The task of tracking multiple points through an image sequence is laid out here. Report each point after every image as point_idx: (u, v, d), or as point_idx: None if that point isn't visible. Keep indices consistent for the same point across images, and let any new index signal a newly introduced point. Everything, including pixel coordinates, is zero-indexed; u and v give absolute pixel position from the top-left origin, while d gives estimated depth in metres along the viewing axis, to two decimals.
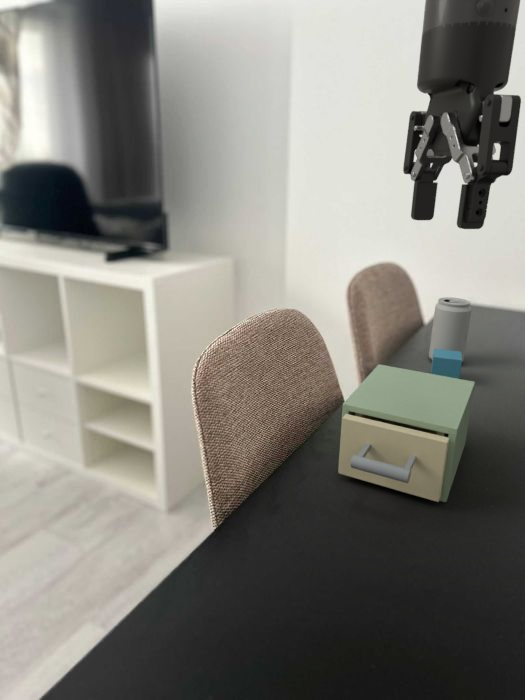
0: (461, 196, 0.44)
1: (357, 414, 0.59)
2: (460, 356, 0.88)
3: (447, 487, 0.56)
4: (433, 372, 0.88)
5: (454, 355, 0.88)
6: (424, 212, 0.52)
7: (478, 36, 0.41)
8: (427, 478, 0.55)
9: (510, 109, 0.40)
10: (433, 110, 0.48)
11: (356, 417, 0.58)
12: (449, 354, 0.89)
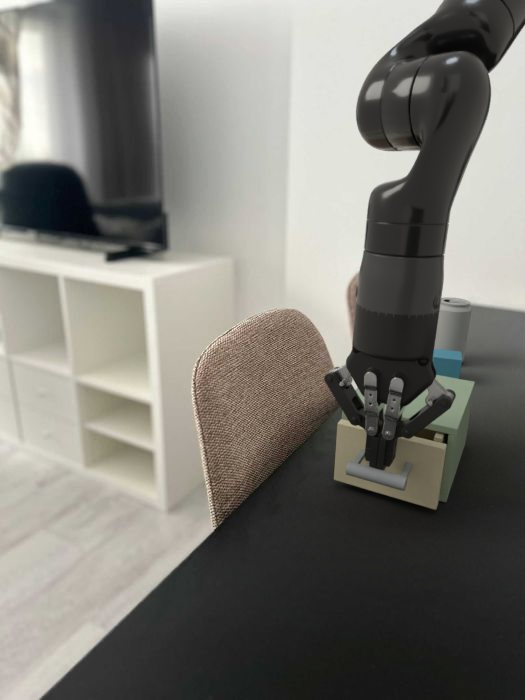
0: (378, 446, 0.51)
1: None
2: (460, 356, 0.88)
3: (447, 487, 0.56)
4: None
5: (454, 355, 0.88)
6: None
7: (432, 324, 0.45)
8: (424, 485, 0.53)
9: None
10: (358, 357, 0.49)
11: None
12: (449, 354, 0.89)
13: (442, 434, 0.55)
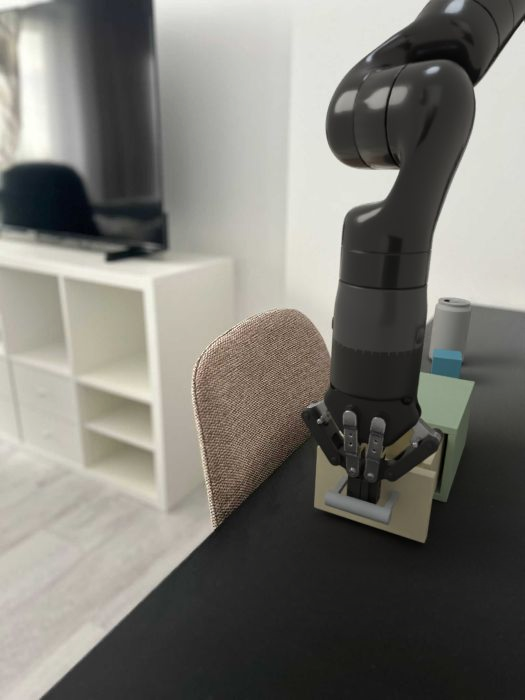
0: (361, 489, 0.47)
1: None
2: (460, 356, 0.88)
3: (447, 487, 0.56)
4: (433, 372, 0.88)
5: (454, 355, 0.88)
6: None
7: (415, 360, 0.41)
8: (412, 516, 0.49)
9: None
10: (337, 394, 0.45)
11: None
12: (449, 354, 0.89)
13: (431, 459, 0.50)
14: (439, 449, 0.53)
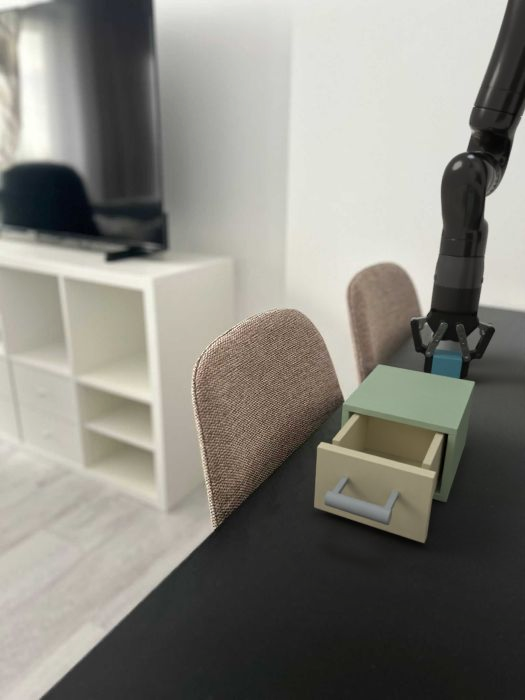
0: None
1: (335, 442, 0.53)
2: (460, 356, 0.88)
3: (447, 487, 0.56)
4: (433, 372, 0.88)
5: (454, 355, 0.88)
6: None
7: (480, 292, 0.83)
8: (412, 516, 0.49)
9: None
10: (437, 316, 0.86)
11: (333, 446, 0.52)
12: (449, 354, 0.89)
13: (431, 460, 0.50)
14: (439, 449, 0.53)
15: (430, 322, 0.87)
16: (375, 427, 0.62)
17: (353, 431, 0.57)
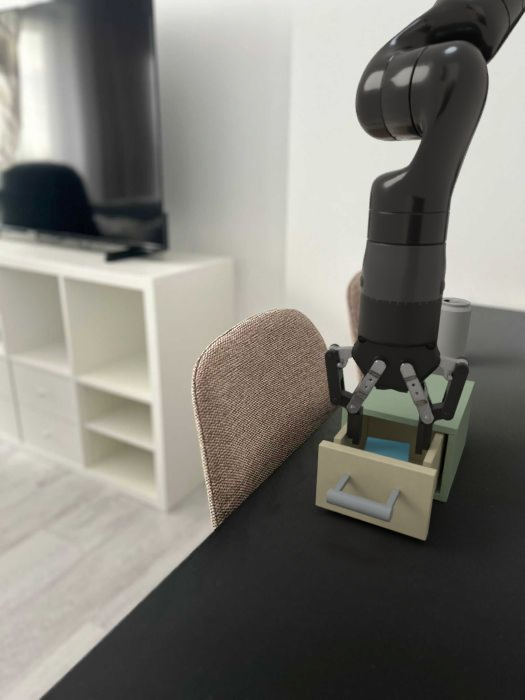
0: (417, 431, 0.51)
1: (336, 440, 0.54)
2: (406, 455, 0.53)
3: (447, 487, 0.56)
4: None
5: (397, 453, 0.53)
6: (360, 435, 0.54)
7: (439, 308, 0.47)
8: (413, 514, 0.49)
9: None
10: (369, 349, 0.50)
11: (334, 444, 0.52)
12: (389, 451, 0.54)
13: (432, 458, 0.50)
14: (440, 447, 0.54)
15: (358, 359, 0.51)
16: (376, 426, 0.62)
17: None
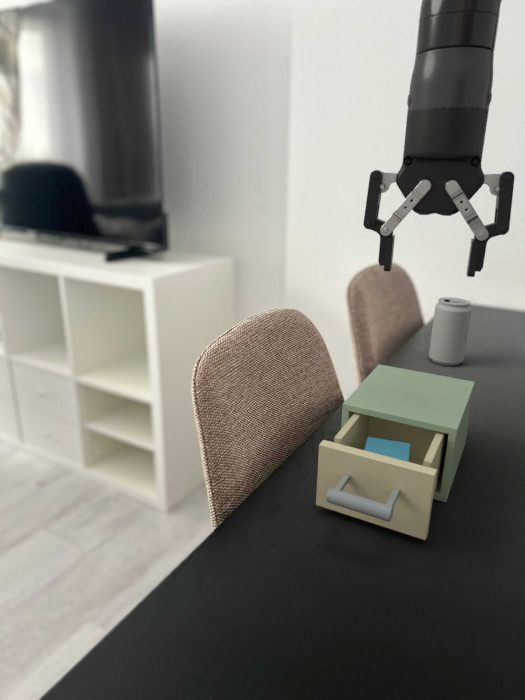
0: (471, 251, 0.52)
1: (336, 440, 0.54)
2: (406, 454, 0.53)
3: (447, 487, 0.56)
4: None
5: (397, 452, 0.54)
6: (391, 263, 0.56)
7: (485, 121, 0.48)
8: (413, 513, 0.49)
9: None
10: (415, 173, 0.52)
11: (334, 444, 0.52)
12: (389, 450, 0.54)
13: (432, 457, 0.50)
14: (440, 447, 0.54)
15: (402, 183, 0.52)
16: (376, 426, 0.62)
17: (354, 429, 0.58)
